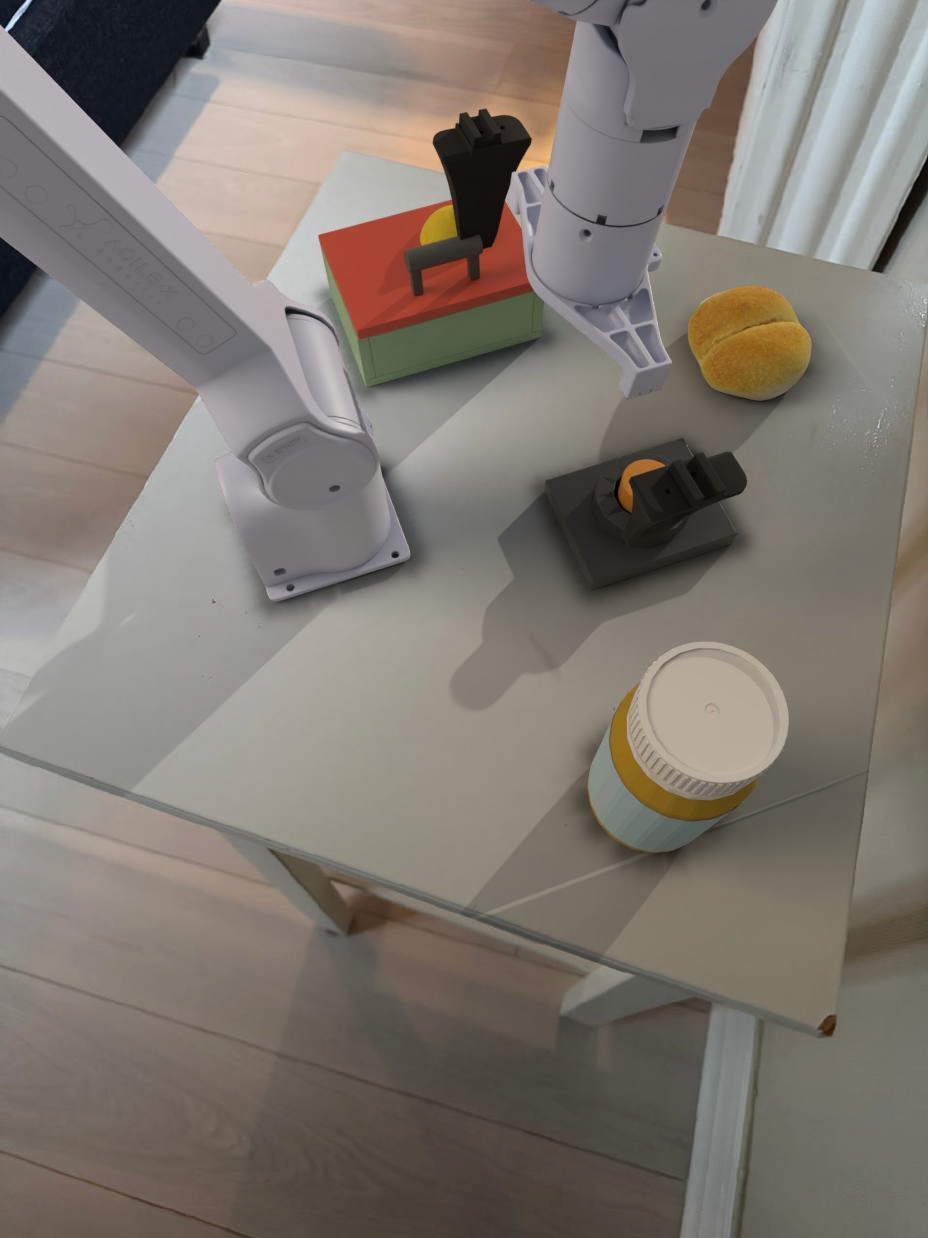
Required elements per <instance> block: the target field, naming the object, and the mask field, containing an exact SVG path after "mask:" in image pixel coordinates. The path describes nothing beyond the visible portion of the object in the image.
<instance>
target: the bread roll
mask: <svg viewBox="0 0 928 1238" xmlns="http://www.w3.org/2000/svg"><path fill="white" fill-rule="evenodd" d="M687 324H688V325H687V341H688V344H689V347H690V350H691V352H692V354H693V356H694V357H695V359H696V361H697V362H696V363H698V365H699V367H700V371H701V374H702V376H703V378H704V380H705V381H706V383H707V384H708V386H709V387H711V388H712V389H713V390H714V391H716V392H717V391H718V392H719V393H723V394H726V395H730V396H734V397H740V398H744V399H747V400H751V401H757V402H758V401H759V402H761V401H767V400H771V399H774V398H777V397H779V396H781V395H784V393H787V392H788V391H789V390H790V389H791V388H792V387H793V386H796V384H797V383H798V382H799V380H800V379H801V378H803V375H804V374H805V372H806V371H807V368H808V366H809V364H810V360H811V355H812V346H813V344H812V339H811V336H810V334H809V332H808V330H806V329H805V328H804V327H803V326H802V324H801V322H800V321H799V319H798V316H797V314H796V312H795V310H794V309H793V307H792V304H791V303H790V302H789V301H788V300H786V298H784V296H783V295H782V294H781V293H780V292H777V291H775V290H773V289H770V288H767V287H764V286H760V285H745V286H738V287H733V288H731V289H727V290H724V291H721V292H716V293H714V294H712V295H709V296H708V297H706V298H704V299H703V300H702V301H700V304H699V305H698V307H697V308H696V309H695V310H694V312H693V313H692V315H691V316H690V318H689V320H688V323H687Z"/></svg>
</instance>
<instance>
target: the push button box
mask: <svg viewBox="0 0 928 1238" xmlns="http://www.w3.org/2000/svg"><path fill="white" fill-rule="evenodd" d="M693 457H694V454H693V453H692V451H691V449H690V447H689V446H688V444H687V442H686V440H685V438H684V437H680V438H677V439H674V440H671V441H668V442H664V443H661V444H659V445H655V446H652V447H648V448H645V449H642V450H639V451H636V452H632V453H629V454H626V455H622V456H620V457H615V458H614V459H609V460H607V461H604V462H601V463H598V464H594V465H590V466H587V467H584V468H581V469H578V470H575V471H572V472H568V473H566V474H562V475H559V476H556V477H552V478H549V479H546V480H545V484H544V494H545V496H546V498H547V500H548V502H549V505H550V507H551V509H552V511H553V513H554V516H555V518H556V520H557V522H558V524H559V526H560V528H561V531H562V533H563V535H564V537H565V540H566V541H567V543H568V546H569V547H570V549H571V552H572V554H573V556H574V558H575V560H576V562H577V565H578V567H579V569H580V571H581V573H582V575H583V577H584V580H585V582H586V584H587V586H588V589H589V590H590V591H594V590H596V589H600V588H603V587H606V586H608V585H612V584H615V583H618V582H621V581H624V580H628V579H630V578H633V577H636V576H639V575H642V574H645V573H648V572H652V571H654V570H657V569H660V568H663V567H667V566H669V565H672V564H676V563H678V562H683V561H685V560H687V559H690V558H693V557H697V556H700V555H703V554H706V553H709V552H712V551H714V550H717V549H722V548H724V547H727V546H730V545H732V544H733V543H734V541H735V539H736V537H737V535H738V532H737V530H736V528H735V526H734V525H733V523H732V521H731V520H730V518H729V516H728V514H727V512H726V511H725V509H724V508H723V506H722V504H721V501H719V502H717V503H714V504H712V505H710V506H707V507H705V508H703V509H701V510H699V511H697V512H695V513H693V514H691V515H690V516H688V517H686V518H685V519H683V520H682V521H680V522H679V523H677V524H676V525H675V526H673V527H672V528H671V529H670V530H669V531H668V532H666V533H665V534H664V535H663V536H662V537H661V538H660V539H659V540H656V541H653V542H650V543H648V544H645V545H642V546H639V547H636V548H633V549H630V548H628V546H627V545H626V543H625V541H624V538H623V534H624V530H625V527H626V525H627V522H628V520H629V518H630V515H631V513H630V512H628V511H627V510H626V509H625V508H624V507H623V506H622V504H621V503H620V500H619V497H618V491H619V486H620V483H621V479H622V475H623V472H624V471H625V469H626V468H627V467H628V466H629V465H630V464H632V463H633V462H635V461H638V460H644V459H649V460H654V461H657V462H660V463H662V464H663V465H665V466H666V467H667V466H670V465H671V463H672V462H674V461H677V460H680V459H681V460H682V462H683V461H686V460H689V459H692V458H693Z"/></svg>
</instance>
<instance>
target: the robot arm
mask: <svg viewBox="0 0 928 1238" xmlns="http://www.w3.org/2000/svg"><path fill="white" fill-rule="evenodd" d="M526 1H527V2H529V3H531V4H534V5H537V6H539V7H541V8H543V9H546V10H549V11H551V12H553V13H555V14H557V15H560V16H563V17H565V18H568V19H569V20H572V21H576V23H575V29H574V33H573V38H572V42H571V49H570V54H569V60H568V64H567V69H566V74H565V80H564V84H563V89H562V95H561V99H560V105H559V110H558V115H557V120H556V125H555V132H554V138H553V143H552V146H551V147H552V148H551V151H550V152H551V153H550V157H549V161H548V162H549V163H548V168H547V166H546V165H539V166H535V167H531V168H525V169H521V170H518V168H519V167H520V164H521V162H522V161H523V159H524V157H525V156H526V154H527V151H528V150H529V148H530V147H531V145H532V140H533V138H532V137H531V135H530V133H529V132H528V130H527V129H526V127H525V126H524V124H523V123H522V121H521V120H520V119H518V118H517V117H515V116H513V115H509V114H499V115H494V116H492V115H491V114H490V112H489V110H488V109H487V108H481V109H480V108H479V109H478V113H477V115H473V116H470V114H469V112H468V111H465V112H460V113H459V114H458V122H455V125H454V127H453V128H447V129H442V130H439V131H438V132H436V133H435V134H434V135H433V137H432V146H433V148H434V150H435V152H436V154H437V156H438V158H439V161H440V164H441V166H442V169H443V172H444V175H445V178H446V182H447V184H448V189H449V193H450V194H449V195H450V198H451V199H450V200H452V204H453V210H454V217H455V224H456V230H457V236H459V238H460V239H461V240H463V239H466V238H469V237H472V236H475V235H478V234H480V236H481V239H482V244H483V249H485V248H489V247H492V245H493V243H494V241H495V238H496V235H497V233H498V229H499V225H500V221H501V216H502V212H503V207H504V203H505V202H506V199H507V198H508V199H507V205H508V207H509V208H510V210H511V212H512V213H513V214H514V215H516V216H518V215H519V217H520V227H521V228H522V237H523V246H524V256H525V265H526V273H527V278H528V280H529V283H530V285H531V286H532V288H533V290H534V291H535V292H536V293H537V295H538V296H539V297H540V298H541V299H542V300H543V301H544V303H545V304H547V305H548V306H549V307H550V308H551V309H553V310H554V311H555V312H556V313H558V314H559V315H560V316H561V317H562V318H564V319H565V320H566V321H567V322H568V323H569V324H571V325H572V326H573V327H574V328H575V329H577V330H578V331H579V332H580V333H582V334H583V336H585V337H586V338H587V339H589V340H590V341H591V342H592V343H593V344H594V345H595V346H596V347H598V348H599V349H601V351H603V352H604V353H605V354H606V355H608V356H609V357H610V358H611V359H612V360H613V361H614V362H615V363H617V364H618V366H619V368H620V369H621V371H622V372H621V377H620V380H619V382H618V388H619V390H620V391H621V393H622V395H623V396H624V397H625V400H630V399H633V398H637V397H642V396H646V395H649V394H652V393H655V392H658V391H661V390H662V389H663V386H664V383H665V382H666V379H667V376H668V374H669V372H670V370H671V368H672V365H673V361H672V360H671V358H670V356H669V354H668V352H667V350H666V347H665V346H664V343H663V339H662V336H661V333H660V328H659V323H658V318H657V311H656V307H655V300H654V296H653V291H652V286H651V280H650V276H649V273H650V272H654V271H657V270H658V269H659V268H660V264H661V262H662V261H663V254H662V252H661V251H660V249H659V247H658V246H657V245H656V240H657V237H658V235H659V231H660V229H661V226H662V223H663V220H664V217H665V214H666V211H667V209H668V205H669V203H670V200H671V197H672V194H673V192H674V189H675V185H676V182H677V180H678V177H679V174H680V171H681V169H682V165H683V163H684V159H685V156H686V154H687V151H688V148H689V146H690V142H691V139H692V137H693V134H694V131H695V128H696V125H697V123H698V120H699V119H700V118H701V116H702V113H703V111H704V110H706V109H710V108H711V106H712V104H713V103H712V102H713V100H714V97H715V94H716V91H717V89H718V86H719V84H720V82H721V80H722V78H723V76H724V75H725V73H726V72H727V70H728V69H729V68H730V66H731V65H732V64H733V63H734V62H735V61H736V60H737V59H738V58H739V57H740V56H741V55H742V54H743V53H744V52H745V51H746V50H747V49H748V48H749V47H750V46H751V45H752V43H753V42H754V41H755V40H756V38H757V37H758V36H759V34H760V33H761V32H762V30H763V29H764V27H765V25H766V24H767V22H768V20H769V19H770V18H771V16H772V13H773V12H774V10H775V8H776V6H777V4H778V1H779V0H526ZM507 196H508V197H507ZM0 238H1V239H2V240H4V242H6V243H7V244H9V245H10V246H11V247H12V248H14V249H15V250H16V251H18V253H20V254H21V255H23V256H24V257H25V258H27V259H28V260H29V261H30V262H32V263H33V264H34V265H35V266H37V267H38V268H40V270H42V271H43V272H45V273H46V274H47V275H48V276H50V277H51V278H52V279H54V281H56V282H58V283H59V284H60V285H61V286H63V287H64V288H65V289H67V290H68V291H69V292H70V293H72V295H74V296H76V298H78V299H79V300H81V302H83V303H84V304H86V305H87V306H88V307H89V308H91V309H93V311H95V312H96V313H98V314H99V315H100V316H101V317H103V319H105V320H107V321H108V322H109V323H110V324H112V325H113V326H114V327H116V328H117V329H118V330H119V331H121V332H122V333H123V334H125V335H126V336H127V337H128V338H130V340H132V341H134V342H135V343H136V344H137V345H138V346H140V347H141V348H143V349H144V350H145V351H146V352H148V353H149V354H150V355H152V356H153V357H154V358H155V359H157V360H158V361H159V362H160V363H162V364H163V365H164V366H166V367H167V368H169V369H170V370H171V371H172V372H173V373H174V374H176V375H177V376H178V377H180V378H181V379H182V380H183V381H185V382H186V383H188V384H189V385H190V386H192V388H193V389H194V390H195V391H196V393H197V394H198V397H200V399H201V401H202V402H203V404H204V406H205V408H206V410H207V411H208V413H209V415H210V417H211V419H212V420H213V422H214V424H215V425H216V428H217V429H218V430H219V433H220V434H221V436H222V438H223V439H224V441H225V443H226V444H227V446H228V448H229V450H230V451H229V452H227V453H225V454H222V455H220V456H219V457H216V458H215V461H214V463H215V468H216V473H217V477H218V481H219V484H220V487H221V491H222V494H223V497H224V500H225V505H226V506H227V510H228V513H229V515H230V517H231V520H232V523H233V525H234V528H235V530H236V533H237V535H238V537H239V539H240V541H241V544H242V545H243V547H244V549H245V552H246V553H247V555H248V557H249V559H250V560H251V562H252V564H253V566H254V568H255V570H256V572H257V574H258V575H259V577H260V579H261V581H262V583H263V585H264V588H265V590H266V594H267V596H268V598H269V600H270V601H272V602H274V603H276V602H277V603H279V602H282V601H284V600H287V599H291V598H294V597H297V596H300V595H303V594H306V593H309V592H313V591H317V590H319V589H322V588H325V587H328V586H331V585H335V584H338V583H342V582H344V581H348V580H351V579H354V578H357V577H360V576H363V575H367V574H369V573H372V572H376V571H379V570H382V569H386V568H388V567H391V566H394V565H398V564H401V563H404V562H406V561H408V560H409V559H410V558H411V549H410V547H409V544H408V541H407V539H406V536H405V534H404V531H403V528H402V525H401V522H400V520H399V517H398V514H397V512H396V509H395V506H394V504H393V501H392V498H391V495H390V493H389V490H388V488H387V485H386V482H385V480H384V478H383V474H382V468H381V464H380V463H381V462H380V455H379V451H378V447H377V442H376V438H375V433H374V428H373V425H372V423H371V421H370V419H369V417H368V415H367V414H366V413H365V411H364V410H363V409H362V408H361V407H360V406H359V405H360V404H359V402H358V400H357V397H356V393H355V390H354V388H353V385H352V382H351V380H350V376H349V373H348V370H347V367H346V365H345V362H344V359H343V356H342V353H341V350H340V339H339V335H338V333H337V329H336V327H335V325H334V324H333V322H332V321H331V320H330V319H329V317H328V316H327V315H326V314H324V313H323V312H322V311H321V310H319V309H317V308H315V307H314V306H310V305H308V304H305V303H301V302H298V301H296V300H294V299H292V298H289V296H287V295H286V294H284V293H283V292H282V291H281V290H280V289H278V288H277V286H276V285H275V284H274V283H273V282H272V281H271V280H270V279H266V278H265V279H261V280H257V281H254V282H250V281H249V280H248V279H247V278H246V277H245V276H244V275H243V274H242V273H241V272H240V271H239V270H238V269H237V268H236V266H234V265H233V264H232V263H231V262H230V260H229V259H228V258H226V257H225V255H223V254H222V252H221V251H220V250H219V249H218V248H217V247H216V246H215V245H214V244H213V243H212V242H211V241H210V240H209V239H208V238H207V237H206V236H205V235H204V234H203V233H202V232H201V230H199V229H198V227H197V226H196V225H194V223H192V221H190V219H189V218H188V217H187V216H186V215H185V214H184V213H183V212H182V211H181V210H180V209H179V208H178V207H177V206H176V205H175V204H174V203H173V202H172V200H170V199H169V197H168V196H166V194H165V193H164V192H163V191H161V189H159V187H158V186H157V185H156V184H155V183H154V182H153V181H152V180H151V179H150V178H149V177H148V175H146V174H145V173H144V172H143V171H142V169H141V168H139V166H138V165H137V164H135V163H134V162H133V160H132V159H131V158H130V157H129V156H128V155H127V154H126V153H125V152H124V151H123V150H122V149H121V148H120V147H119V146H118V145H117V144H116V143H115V142H114V140H113V139H111V138H110V137H109V135H107V134H106V132H104V131H103V129H101V127H100V126H99V125H98V124H97V123H96V122H95V121H94V120H93V119H92V118H91V117H90V116H89V115H88V113H86V112H85V111H84V110H83V109H82V108H81V107H80V105H78V103H76V102H75V101H74V100H73V99H72V98H71V96H70V95H69V94H68V93H67V92H66V91H65V90H64V89H63V88H62V87H61V86H60V85H59V84H58V83H57V82H56V81H55V80H54V79H53V78H52V76H50V75H49V74H48V73H47V71H45V69H44V68H43V67H42V66H41V65H40V64H39V63H38V62H37V61H36V60H35V59H34V58H33V57H32V56H31V55H30V54H29V53H28V52H27V51H26V50H25V49H24V48H23V47H22V46H21V44H19V43H18V42H17V41H16V39H14V38H13V36H12V35H11V34H10V33H9V32H8V31H7V30H6V29H5V28H4V27H3V26H2V25H1V24H0ZM693 456H694V457H693V458H692V459H689V460H686V461H683V462H682V460H681V459H680V460H677V461H674V462H672V463H671V465H670V466H667V467H666V466H664V467H661V468H657V469H654V470H651V471H648V472H645V473H642V474H638V475H635V476H632V477H631V478H630V480H629V484H630V486H631V489H632V494H633V506H632V512H631V515H630V518H629V520H628V522H627V525H626V527H625V530H624V534H623V538H624V541H625V543H626V545H627V546H628V548H630V549H633V548H636V547H639V546H642V545H645V544H648V543H650V542H653V541H656V540H659V539H660V538H661V537H662V536H663V535H664V534H665V533H666V532H668V531H669V530H670V529H671V528H672V527H673V526H675V525H676V524H677V523H679V522H680V521H682V520H683V519H685V518H686V517H688V516H690V515H691V514H693V513H695V512H697V511H699V510H701V509H703V508H705V507H707V506H710V505H712V504H714V503H717V502H722V501H725V500H727V499H730V498H734V497H736V496H739V495H741V494H742V493H744V491H745V489H746V488H747V486H748V478H747V477H748V476H747V475H746V473H745V471H744V469H743V468H742V466H741V464H740V462H739V461H738V460H737V459H736V457H735V456H734V454H733V452H732V451H724V452H721V453H718V454H714V455H712V456H708V457H707V456H706V454H705V452H704V451H702V452H699V453H696V454H693ZM394 555H398V556H397V557H393V556H394ZM291 588H293V590H289V589H291Z"/></svg>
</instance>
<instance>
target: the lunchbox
mask: <svg viewBox="0 0 928 1238" xmlns="http://www.w3.org/2000/svg"><path fill="white" fill-rule="evenodd" d="M319 245H320V244H319ZM319 247H320V251H321V256H322V259H323V264H324V265H323V266H324V270H325V275H326V278H327V283H328V288H329V293H330V297H331V299H332V301H333V304H334V305H333V306H334V307H335V310H336V312H337V315H338V317H339V320H340V322H341V325H342V328H343V331H344V333H345V336H346V338H347V341H348V343H349V346H350V349H351V351H352V354H353V357H354V359H355V363H356V364H357V368H358V370H359V372H360V375H361V378H362V380H363V384H364V386H365V388H370V387H373V386H377V385H381V384H383V383H388V382H390V381H394V380H397V379H401V378H406V377H409V376H412V375H415V374H418V373H423V372H425V371H429V370H433V369H436V368H440V367H443V366H446V365H450V364H453V363H456V362H460V361H464V360H467V359H470V358H474V357H477V356H481V355H485V354H488V353H492V352H495V351H499V350H502V349H505V348H509V347H513V346H516V345H519V344H523V343H526V342H529V341H532V340H536V339H539V338H541V337H542V327H543V317H544V316H543V315H544V305H545V301H543V300H542V299H541V298H540V297H539V296H538V295H537V293H536V292H535V291H531V292H528V293H524V294H520V295H517V296H513V297H510V298H506V299H503V300H499V301H496V302H492V303H488V304H485V305H481V306H478V307H474V308H471V309H467V310H464V311H460V312H456V313H453V314H449V315H446V316H442V317H439V318H435V319H432V320H428V321H424V322H421V323H417V324H414V325H410V326H407V327H403V328H400V329H396V330H393V331H389V332H385V333H382V334H378V335H375V336H371V337H368V338H364V339H361V340H359V339H358V336H357V334H356V331H355V329H354V327H353V324H352V322H351V319H350V317H349V314H348V312H347V309H346V307H345V304H344V302H343V299H342V297H341V295H340V292H339V290H338V287H337V285H336V282H335V280H334V277H333V275H332V272H331V270H330V267H329V265H328V263H327V260H326V258H325V255H324V253H323V250H322V248H321V245H320V246H319Z"/></svg>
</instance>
